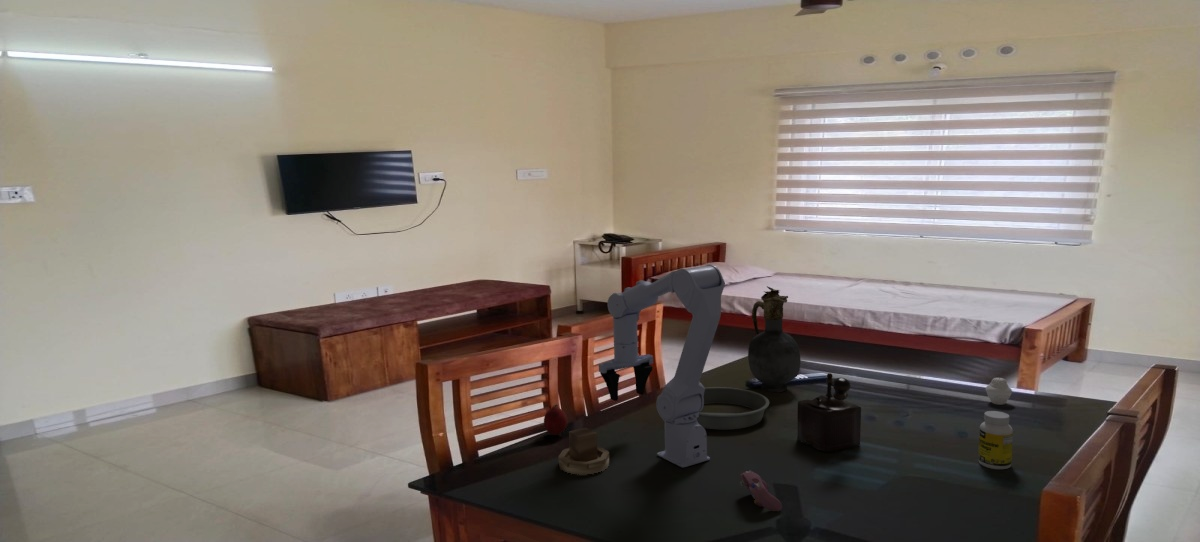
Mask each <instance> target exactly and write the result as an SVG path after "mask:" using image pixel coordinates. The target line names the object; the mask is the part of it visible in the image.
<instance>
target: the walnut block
mask: <svg viewBox="0 0 1200 542" xmlns="http://www.w3.org/2000/svg"><path fill="white" fill-rule="evenodd" d="M568 444H569V445H568V448H569V450H570V458H571V459H573V460H575V461H582V462H588V461H592V460H595V459H598V456H597V446H598V434H597V432H596V431H595V430H592V429H590V428H588V427H587V426H586V427H582V428H578V429H573V430H570V431H568Z"/></svg>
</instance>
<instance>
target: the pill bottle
mask: <svg viewBox="0 0 1200 542" xmlns="http://www.w3.org/2000/svg"><path fill="white" fill-rule="evenodd" d="M983 415H984V416H983V420H984V421H983V422H981V424H980V425H979V438H978V440H979V441H978V462H979V464H980V465H981V466H983V467H985V468H988V469H991V470H1006V469H1009V468H1011V467H1012V461H1013V460H1012V457H1013V440H1014V439H1013V438H1014V429H1013V427H1012V426H1011V425H1010V424H1009V423H1010V415H1009V414H1008V413H1006V412H1003V411H999V410H998V411H997V410H987V411H985V412H984V414H983Z"/></svg>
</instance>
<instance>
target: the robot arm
mask: <svg viewBox="0 0 1200 542" xmlns="http://www.w3.org/2000/svg"><path fill="white" fill-rule="evenodd" d="M635 284H636V285H634V286H632V287H626V288H624V291H623V292H618V293H617V292H614V293H612V294H611V295H610V296H609V297H608V298H607V305H606V306H607V309H608V312H609V314H610V316H612V321H613V322H612V325H613V326H612V327H613V330H612V331H613V355H614V357H613V359H611V360H607V361H604V362H600V363H598V372H599V373H600V375H601V377H602V379H603V381H604V383H605V385H606V386H607V387H606V388H607V389H608V394H609V398H610V400H612V401H614V402H617V401H619V400H618V399H619V383H620V382H619V380H620V377H621V374H619V373H617V371H618V370H623V369H627V368H633V371H634V379H635V391H636V394H638V395H640V396H643V395H644V393H645V390H646V385H647V382H648V379H649V377H650V375H651V373H652V371H653V365H652V364H654V356H653V355H652V354H648V353H647V354H642V355H641V354H640V355H639V347H638V346H639V343H638V338H639V337H638V322H639V320H640V313H641V312H642V311H643V310H645V309H647V308H650V307H652V306H653V305H655V304H657V302H658V300H659V297H660V296H663V295H665V294H667V293H670V292H671V293H674V294H675V295H676V297H677V298H678V300H679V301H680V303H681V304H682V305H683V307H684V308H685V310H686V311H687V312H688V313H690V314H691V315H692V319H691V322H690V325H689V328H688V330H687V331H688V332H687V334H686V337H685V340H684V344H683V347H682V351H681V354H680V357H679V360H678V364H677V368H676V369H675V373H674V376H673V377H672V378H671V379H670V380H669V381H668V382H666V384H665V385H664V386H663V388H662V391H661V393H660V394H659V395H658V396H657V398H656V399H655V402H656V403H655V407H656V411H657V413H658V415H659V416H660V419H661V420H662V421H664V423H663V424H664V425H663V426H664V429H663V430H664V450H662V451H659V452H657V453H656V455H657V456H659V457H660V458H662V459H664V460H666V461H668V462H670V463H672V464H674V465H676V466H678V467H680V468H682V469H683V468H688V467H689V466H693V465H696V464H700V463H703V462H706V461H710V459H711V457H710V456H709V455H708V441H707V440H708V434H707V431H706V428H703V427H702V426H701V425H700V424H699V423H698V421H697V417H699V412H701V411H702V410H703V409H704V405H705V404H704V392H705V388H706V387H705V386H704V385H703V384H702V383H701V382H700V381H701V378H702V375H703V372H704V370H705V369H704V368H705V366H706V362H707V359H708V356H709V353H710V351H711V347H712V344H713V342H714V338H715V334H716V331H717V329H718V325H719V323H720V320H721V315H722V295H723V292H724V288H725V285H726V281H725V279H724V277H723V274H722V273H721V271H720V269H719V268H718V267H717V266H716V265H713V264H705V265H703V266H697V267H696V266H695V267H687V268H679V269H676V270H673V271H670V272H669V273H668V274H666V275H664V276H662V277H660V278H659V279H657V280H655V281H654V282H653V281H652V282H650V281H647V280H646V281H645V280H643V279H642V280H638V281H636V282H635Z"/></svg>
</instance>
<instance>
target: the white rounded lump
mask: <svg viewBox="0 0 1200 542" xmlns="http://www.w3.org/2000/svg"><path fill="white" fill-rule="evenodd" d="M985 392H986V395H987V396H988V399H989V400H990V402H991V404H993V405H999V406H1000V405H1001V406H1002V405H1003V406H1004V405H1005V404H1006V403H1007V402H1008V401H1009V399H1010V397H1011V395H1012V393H1013V390H1012V388H1011V387H1010V386H1009V384H1008V381H1007V380H1006V379H1005V378H1003V377H994V378H992V379H991V382H990V383H989V384H988V385H986V387H985Z"/></svg>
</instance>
